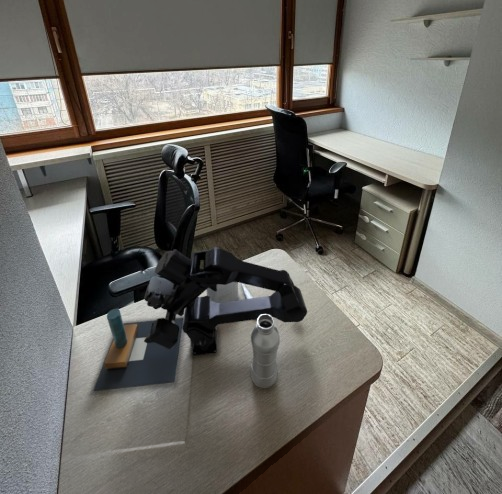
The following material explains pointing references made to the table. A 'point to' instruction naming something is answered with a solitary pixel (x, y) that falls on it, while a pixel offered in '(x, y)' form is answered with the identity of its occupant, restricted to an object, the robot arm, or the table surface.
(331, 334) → the table surface
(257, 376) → the plastic bottle
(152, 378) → the desk mat
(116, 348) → the peg on wooden base
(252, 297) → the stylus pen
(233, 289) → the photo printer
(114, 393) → the table surface
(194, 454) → the table surface
